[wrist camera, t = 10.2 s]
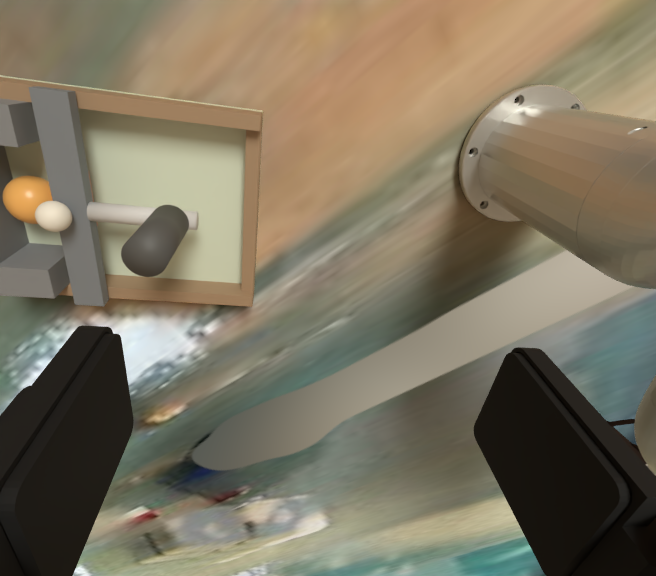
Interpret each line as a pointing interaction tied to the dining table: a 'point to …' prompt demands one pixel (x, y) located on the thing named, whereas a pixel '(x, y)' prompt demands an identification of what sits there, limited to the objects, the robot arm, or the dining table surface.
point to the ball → (26, 197)
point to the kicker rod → (95, 206)
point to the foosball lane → (142, 192)
